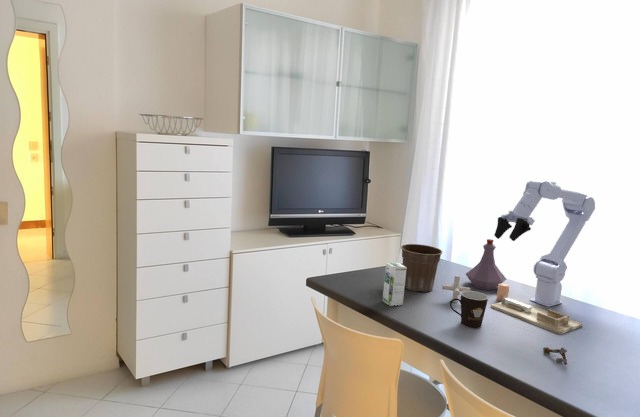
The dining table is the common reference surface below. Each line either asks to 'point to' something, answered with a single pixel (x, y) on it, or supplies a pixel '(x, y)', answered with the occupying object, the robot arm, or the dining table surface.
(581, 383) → the dining table surface
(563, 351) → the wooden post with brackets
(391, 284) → the syrup box
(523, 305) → the lock pin
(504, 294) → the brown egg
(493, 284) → the flask
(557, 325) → the dock
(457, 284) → the pipe connector
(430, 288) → the plant pot
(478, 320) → the coffee mug
